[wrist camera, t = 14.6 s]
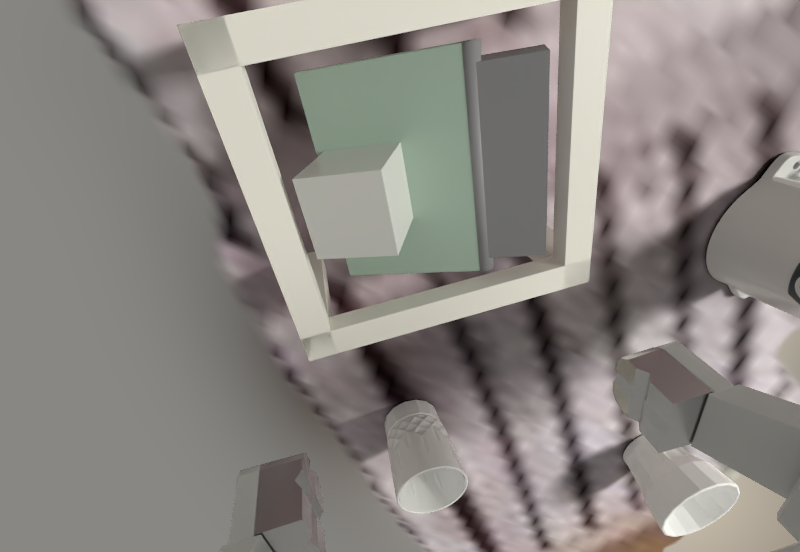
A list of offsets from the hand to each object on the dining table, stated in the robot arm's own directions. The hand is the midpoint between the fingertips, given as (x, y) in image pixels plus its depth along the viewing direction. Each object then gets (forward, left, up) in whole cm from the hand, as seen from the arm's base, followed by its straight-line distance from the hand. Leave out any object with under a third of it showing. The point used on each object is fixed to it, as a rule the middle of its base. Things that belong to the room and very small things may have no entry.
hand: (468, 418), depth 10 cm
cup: (-37, +58, -29) cm, 74 cm away
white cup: (0, +34, -29) cm, 44 cm away
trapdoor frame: (-4, 0, -28) cm, 29 cm away
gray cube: (-1, 0, -19) cm, 19 cm away
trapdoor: (-5, 0, -20) cm, 21 cm away
